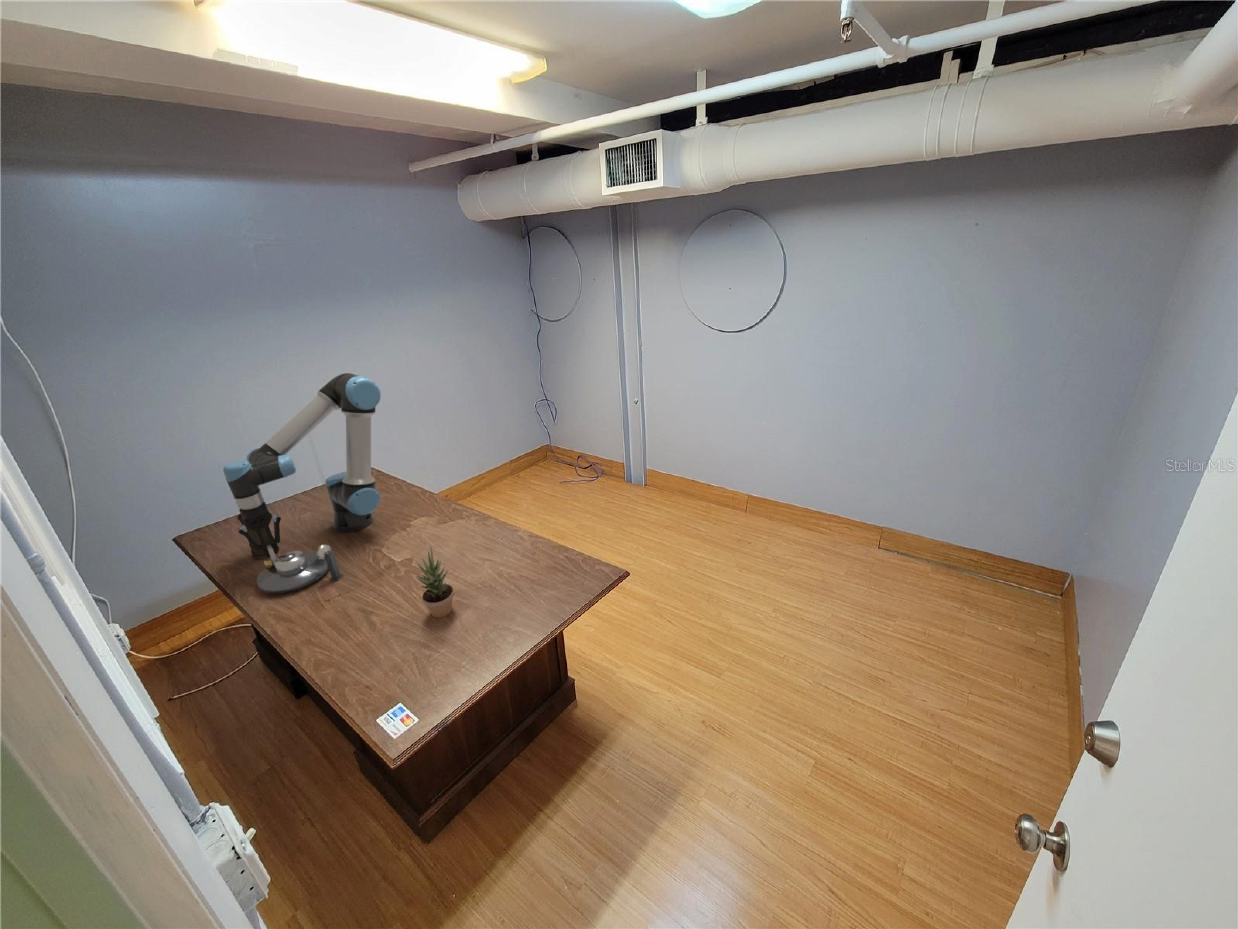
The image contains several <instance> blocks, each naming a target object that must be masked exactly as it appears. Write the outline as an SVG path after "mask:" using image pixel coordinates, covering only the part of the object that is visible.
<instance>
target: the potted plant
mask: <svg viewBox="0 0 1238 929" xmlns="http://www.w3.org/2000/svg"><path fill="white" fill-rule="evenodd" d="M429 547H430V552H429V551H427V556H428V557H427V558H428V562H426V560H425V559H424V558H423V557H421V560H422V562H423V565H424V567H423V566H421V565H420V564H419V562H416V564H417V567H418V568H419V569H420V571H421V572H422V573H423V575H422V576H420V575H418V574H417V575H415V579H417V580H418V581H419V582H420V583H422V584H423V585H420V587H421V588H423V589H425V590H424V591H423V592H422V593H421V601H422V603H423V605H425V606H426V608H428V611H429V612H430V614H431V615H432V617H434V618H443V617H446V616H448V615H449V614H450V613H451V612H452V609H453V598H454V596H455V590H454V587H453V586H452V585H451V584H448V583H447V582H445V581H444V580H445V578H446V576H447V574H448V572H449V569H448V570H446V572H445V573H444V571H445V568H446V567H445V566H443V568H442V569H441V565H442V560H439V559H437V561H436V564H435V560H434V553H433V549H432V546H431V544H429ZM440 569H441V571H440ZM424 585H425V586H424Z"/></svg>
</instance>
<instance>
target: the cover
mask: <svg viewBox="0 0 1238 929" xmlns="http://www.w3.org/2000/svg"><path fill="white" fill-rule="evenodd" d="M304 553H305V552H303V551H301V550H294V551H289V552H286V553H283V554H281V555H279V556H277V557H276V559H275V561H274V564H275V567H276V570H277V572H278V575H279V576H280V577H284V578H286V577H292V576H295V575H298V574H300V573H302V572H303V571H305V570H306V569H307V567H308V565H307V562H306V559H305V556H304Z"/></svg>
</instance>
